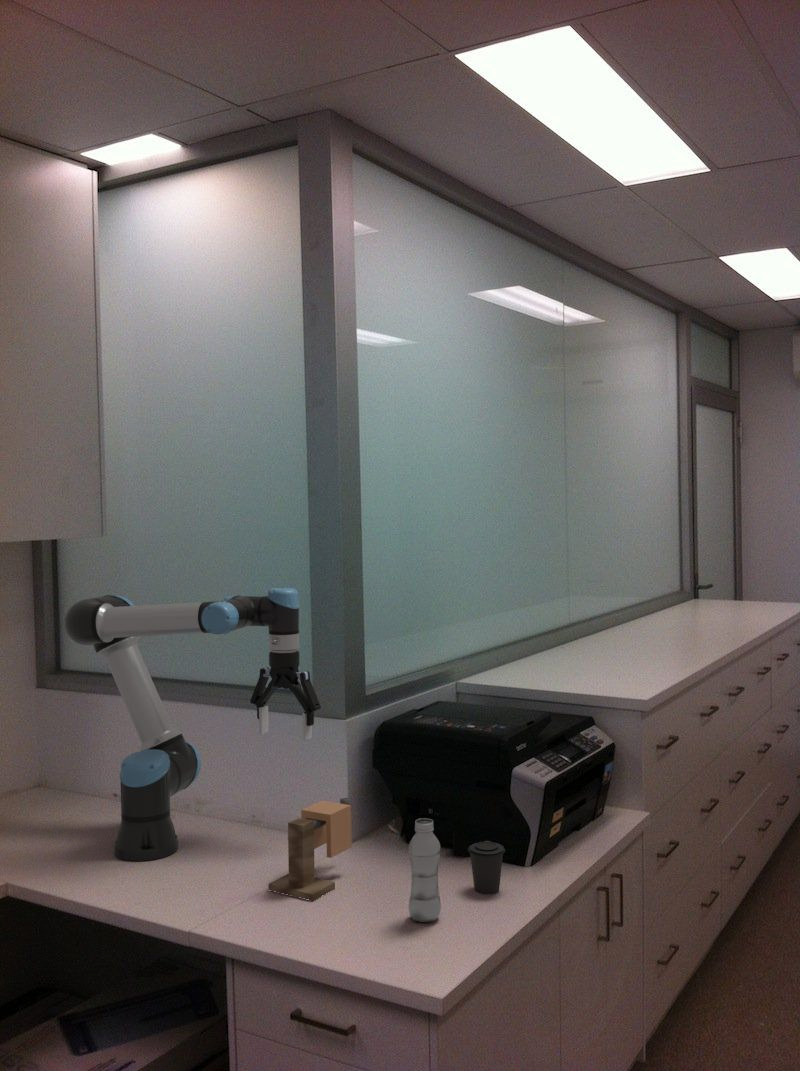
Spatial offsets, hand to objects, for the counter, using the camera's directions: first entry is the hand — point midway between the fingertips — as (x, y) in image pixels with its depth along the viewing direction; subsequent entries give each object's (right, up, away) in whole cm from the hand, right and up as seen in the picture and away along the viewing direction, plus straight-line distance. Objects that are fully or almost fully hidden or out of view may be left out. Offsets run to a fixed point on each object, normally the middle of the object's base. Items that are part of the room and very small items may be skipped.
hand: (285, 735), depth 247 cm
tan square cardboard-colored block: (+12, -21, -22) cm, 33 cm away
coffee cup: (+47, -27, -31) cm, 63 cm away
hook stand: (+11, -27, -23) cm, 38 cm away
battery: (+44, -27, -7) cm, 52 cm away
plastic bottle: (+34, -28, -46) cm, 64 cm away
